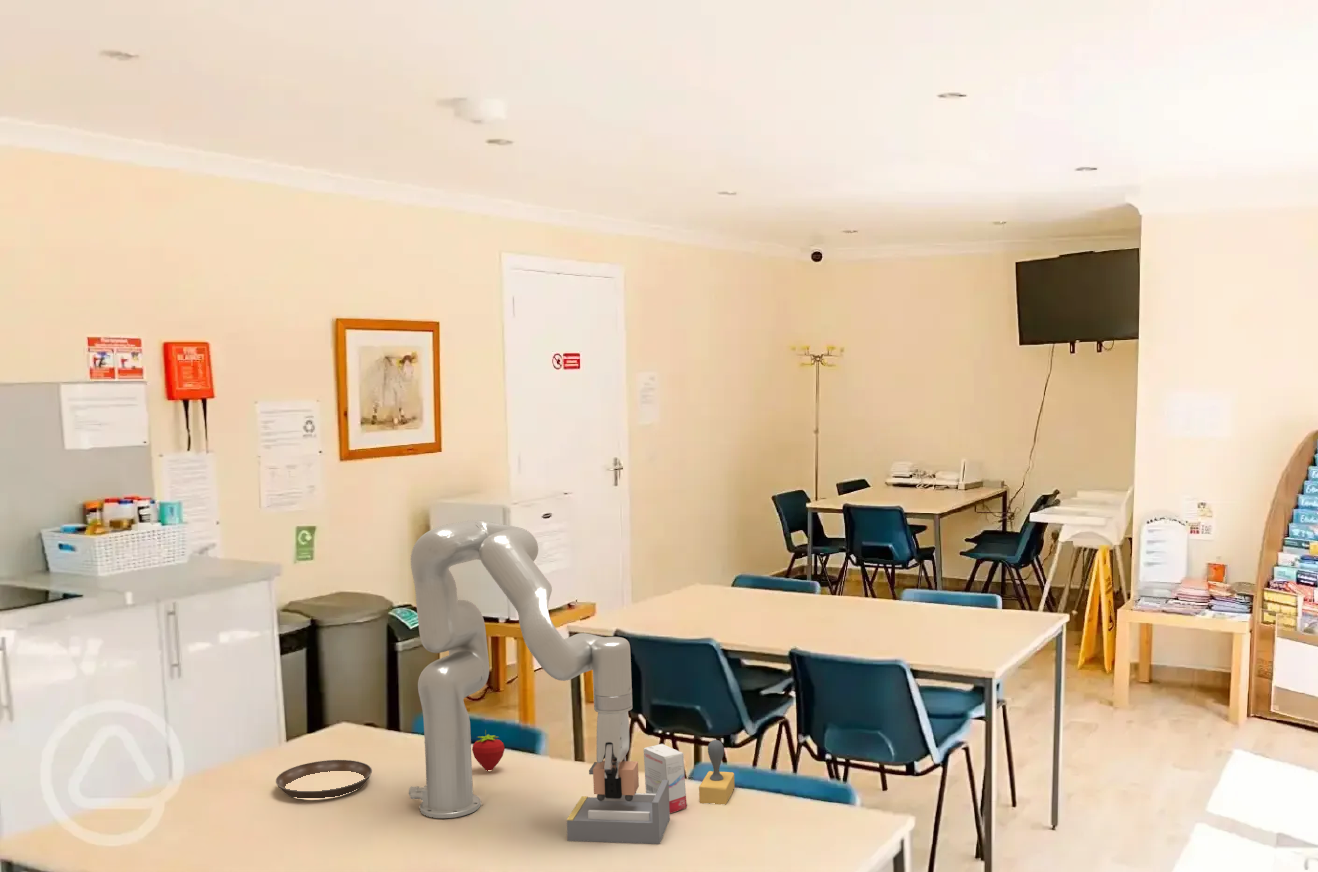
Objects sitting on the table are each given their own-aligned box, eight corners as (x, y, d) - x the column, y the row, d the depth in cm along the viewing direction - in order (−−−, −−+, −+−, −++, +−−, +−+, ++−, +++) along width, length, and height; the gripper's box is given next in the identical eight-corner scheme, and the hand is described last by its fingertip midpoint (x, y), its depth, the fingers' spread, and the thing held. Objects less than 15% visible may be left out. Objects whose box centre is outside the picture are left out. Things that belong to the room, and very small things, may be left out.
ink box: (687, 809, 233) (686, 752, 232) (667, 815, 230) (665, 757, 229) (664, 797, 240) (662, 742, 240) (644, 803, 237) (642, 747, 237)
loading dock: (567, 841, 218) (566, 800, 218) (582, 816, 230) (581, 777, 230) (659, 844, 215) (658, 802, 215) (669, 819, 227) (668, 780, 227)
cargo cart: (590, 801, 221) (588, 769, 221) (595, 792, 226) (594, 760, 226) (634, 803, 219) (633, 769, 219) (639, 794, 224) (637, 761, 224)
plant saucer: (392, 781, 256) (391, 767, 256) (320, 811, 239) (319, 796, 238) (329, 768, 267) (328, 754, 267) (256, 796, 250) (255, 781, 249)
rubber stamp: (708, 787, 246) (707, 732, 245) (734, 788, 244) (733, 733, 244) (699, 803, 236) (697, 746, 236) (726, 805, 235) (724, 748, 234)
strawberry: (501, 776, 257) (500, 733, 256) (469, 776, 257) (467, 732, 257) (508, 768, 262) (507, 725, 262) (477, 767, 263) (475, 725, 263)
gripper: (603, 689, 231) (606, 778, 232) (584, 713, 214) (588, 808, 215) (639, 690, 230) (642, 778, 230) (623, 713, 213) (626, 809, 214)
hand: (616, 792), depth 223 cm, fingers closed on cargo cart, 5 cm apart
